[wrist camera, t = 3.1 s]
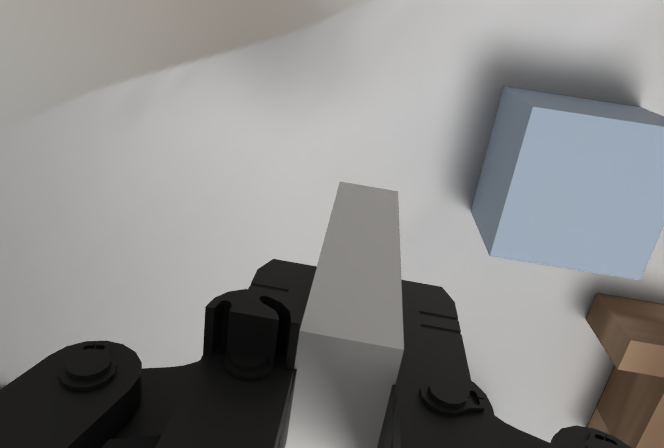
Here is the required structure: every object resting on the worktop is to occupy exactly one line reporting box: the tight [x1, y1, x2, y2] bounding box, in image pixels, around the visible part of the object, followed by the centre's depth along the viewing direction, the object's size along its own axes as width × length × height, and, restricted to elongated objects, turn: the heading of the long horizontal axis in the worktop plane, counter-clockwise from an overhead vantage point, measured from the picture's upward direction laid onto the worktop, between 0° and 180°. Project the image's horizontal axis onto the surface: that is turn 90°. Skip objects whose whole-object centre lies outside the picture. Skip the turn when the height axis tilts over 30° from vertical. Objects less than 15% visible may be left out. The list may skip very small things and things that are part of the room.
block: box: [471, 86, 664, 280], centre depth 22 cm, size 6×6×5 cm
